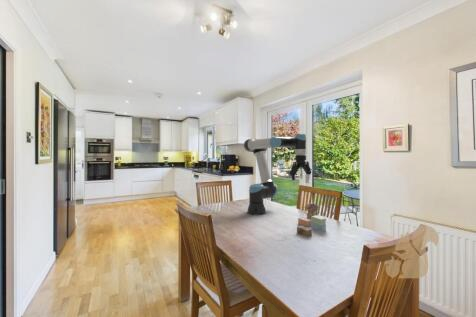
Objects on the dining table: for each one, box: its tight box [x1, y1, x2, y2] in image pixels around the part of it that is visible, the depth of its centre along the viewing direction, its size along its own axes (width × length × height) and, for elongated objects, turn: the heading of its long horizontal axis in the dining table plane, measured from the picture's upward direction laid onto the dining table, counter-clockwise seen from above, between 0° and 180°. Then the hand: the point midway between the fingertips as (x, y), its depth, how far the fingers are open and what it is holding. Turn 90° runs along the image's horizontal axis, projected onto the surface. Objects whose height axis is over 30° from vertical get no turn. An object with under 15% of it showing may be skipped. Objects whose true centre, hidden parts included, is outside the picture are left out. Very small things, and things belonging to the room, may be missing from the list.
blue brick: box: [310, 222, 327, 233], centre depth 140 cm, size 8×4×4 cm, turn 40°
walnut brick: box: [296, 225, 313, 238], centre depth 132 cm, size 8×4×4 cm, turn 31°
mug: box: [302, 203, 320, 220], centre depth 161 cm, size 12×9×11 cm
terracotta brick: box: [297, 217, 312, 228], centre depth 150 cm, size 8×4×4 cm, turn 31°
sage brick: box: [311, 215, 327, 226], centre depth 140 cm, size 8×4×4 cm, turn 28°
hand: (300, 183), depth 160 cm, fingers open, 13 cm apart
